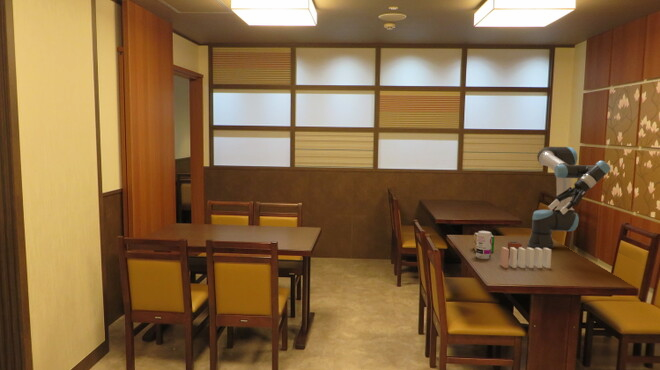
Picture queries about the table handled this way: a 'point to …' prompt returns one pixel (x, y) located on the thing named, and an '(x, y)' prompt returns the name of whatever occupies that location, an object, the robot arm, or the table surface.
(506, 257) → the domino
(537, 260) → the domino
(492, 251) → the puzzle cube
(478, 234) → the supplement can
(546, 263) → the domino
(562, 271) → the table surface
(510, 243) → the battery
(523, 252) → the domino
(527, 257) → the domino
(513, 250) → the domino
